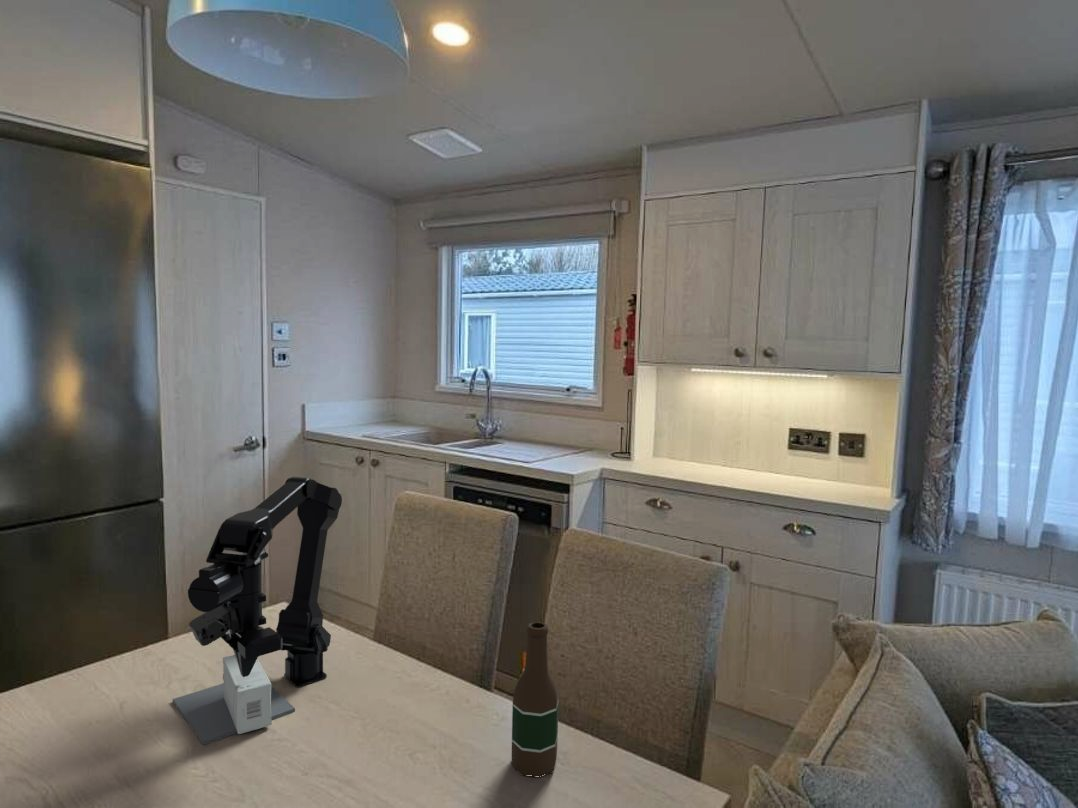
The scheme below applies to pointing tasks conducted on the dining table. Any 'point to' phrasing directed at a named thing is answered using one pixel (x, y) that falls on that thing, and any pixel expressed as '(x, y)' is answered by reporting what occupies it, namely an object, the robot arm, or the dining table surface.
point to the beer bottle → (535, 709)
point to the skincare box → (247, 696)
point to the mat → (219, 712)
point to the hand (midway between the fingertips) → (245, 675)
